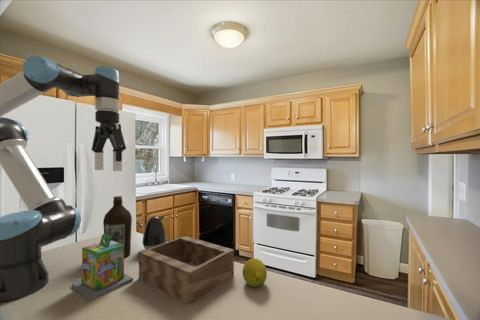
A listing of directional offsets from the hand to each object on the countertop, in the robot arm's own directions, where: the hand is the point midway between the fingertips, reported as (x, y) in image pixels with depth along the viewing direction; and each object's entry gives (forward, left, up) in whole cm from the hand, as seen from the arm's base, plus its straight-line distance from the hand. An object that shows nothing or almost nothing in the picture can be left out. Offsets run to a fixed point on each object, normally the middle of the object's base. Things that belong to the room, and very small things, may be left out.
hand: (107, 170), depth 84 cm
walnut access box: (+26, +14, -37) cm, 47 cm away
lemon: (+48, +23, -37) cm, 65 cm away
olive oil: (-11, +9, -37) cm, 40 cm away
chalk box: (+7, -5, -36) cm, 37 cm away
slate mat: (+7, -5, -37) cm, 38 cm away
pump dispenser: (-4, +22, -37) cm, 43 cm away
